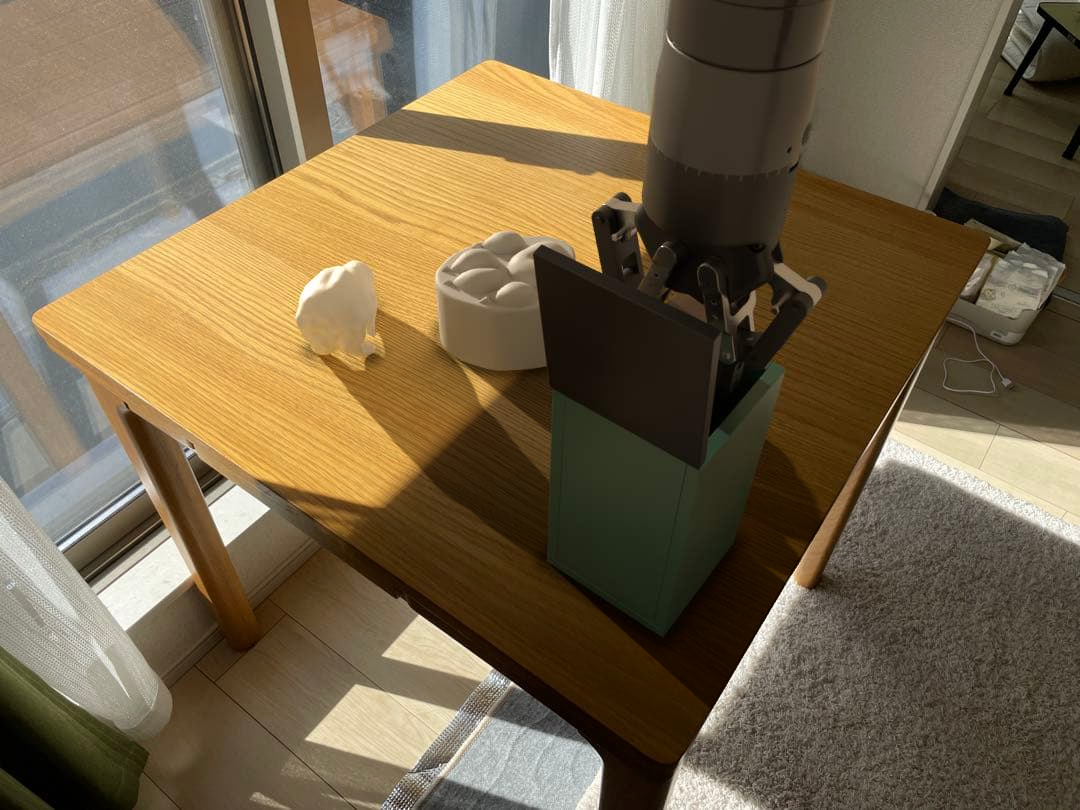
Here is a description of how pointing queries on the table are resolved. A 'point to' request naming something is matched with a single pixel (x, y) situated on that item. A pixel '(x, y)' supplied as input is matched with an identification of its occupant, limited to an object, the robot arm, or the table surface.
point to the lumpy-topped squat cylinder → (494, 302)
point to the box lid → (628, 355)
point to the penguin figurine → (339, 310)
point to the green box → (652, 501)
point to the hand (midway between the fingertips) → (681, 374)
